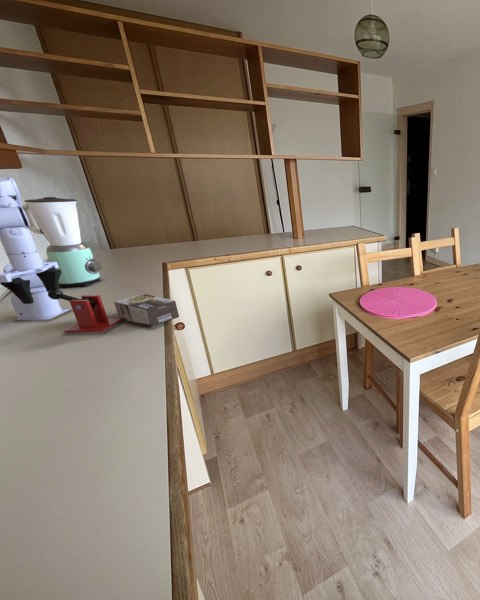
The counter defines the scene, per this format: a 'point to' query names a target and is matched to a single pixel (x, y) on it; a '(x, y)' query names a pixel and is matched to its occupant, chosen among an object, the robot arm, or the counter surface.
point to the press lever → (67, 297)
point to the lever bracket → (90, 316)
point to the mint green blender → (63, 239)
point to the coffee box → (146, 309)
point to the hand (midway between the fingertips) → (41, 298)
